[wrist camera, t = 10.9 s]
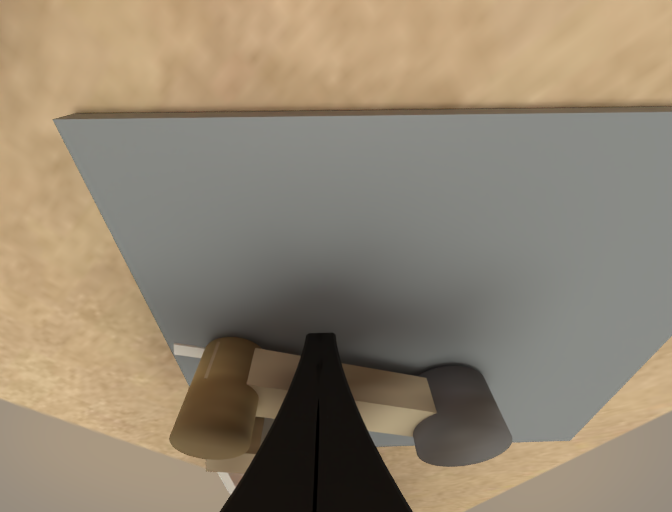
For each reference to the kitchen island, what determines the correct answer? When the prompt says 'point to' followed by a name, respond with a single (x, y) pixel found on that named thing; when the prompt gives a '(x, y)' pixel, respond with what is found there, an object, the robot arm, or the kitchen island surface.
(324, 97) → the kitchen island surface
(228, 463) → the stop post
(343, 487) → the robot arm
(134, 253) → the board
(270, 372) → the crank
